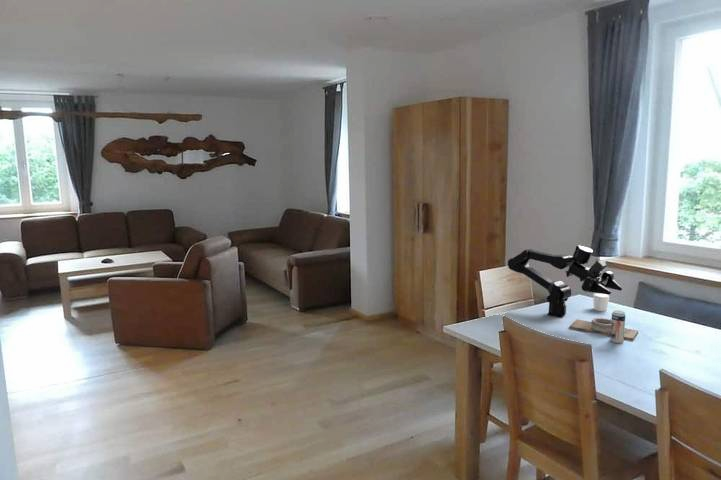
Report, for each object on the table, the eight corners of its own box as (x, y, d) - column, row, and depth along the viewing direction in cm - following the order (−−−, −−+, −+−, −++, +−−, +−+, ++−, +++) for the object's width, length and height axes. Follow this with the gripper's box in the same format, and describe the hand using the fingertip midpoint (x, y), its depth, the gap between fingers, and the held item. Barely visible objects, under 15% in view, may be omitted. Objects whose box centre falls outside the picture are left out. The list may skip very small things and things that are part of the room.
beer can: (607, 339, 202) (609, 310, 200) (618, 339, 202) (621, 309, 200) (614, 344, 197) (616, 314, 195) (625, 343, 197) (628, 313, 195)
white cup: (605, 307, 243) (606, 293, 242) (610, 311, 236) (611, 297, 235) (590, 307, 243) (591, 292, 242) (595, 311, 237) (596, 296, 236)
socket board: (569, 328, 214) (569, 319, 214) (576, 321, 223) (577, 312, 222) (633, 340, 200) (633, 331, 199) (638, 332, 209) (639, 323, 208)
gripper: (578, 259, 211) (612, 278, 200) (601, 253, 222) (635, 271, 212) (568, 282, 216) (601, 301, 205) (591, 275, 227) (624, 293, 216)
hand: (616, 291), depth 209 cm, fingers open, 9 cm apart
